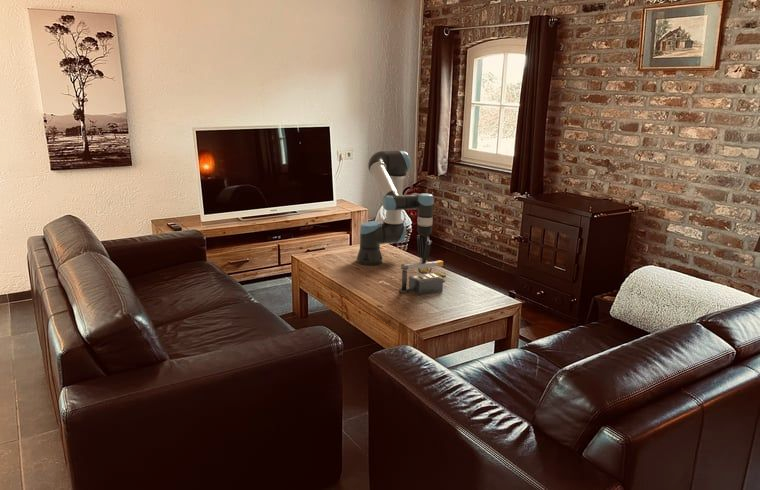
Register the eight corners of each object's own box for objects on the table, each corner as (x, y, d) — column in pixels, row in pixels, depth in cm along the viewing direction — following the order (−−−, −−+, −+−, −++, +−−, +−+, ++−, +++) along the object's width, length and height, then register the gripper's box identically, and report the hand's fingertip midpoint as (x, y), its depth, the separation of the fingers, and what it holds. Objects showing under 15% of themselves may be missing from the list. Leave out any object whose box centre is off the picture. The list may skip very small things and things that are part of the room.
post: (397, 290, 296) (397, 269, 293) (405, 289, 298) (406, 268, 295) (402, 293, 291) (402, 272, 288) (410, 292, 294) (411, 271, 291)
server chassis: (408, 289, 298) (409, 275, 296) (431, 285, 305) (432, 271, 302) (418, 295, 290) (419, 281, 288) (442, 291, 296) (443, 277, 294)
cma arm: (400, 268, 292) (400, 263, 292) (440, 264, 301) (440, 260, 300) (402, 270, 289) (403, 266, 288) (443, 266, 297) (443, 262, 297)
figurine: (445, 281, 310) (427, 260, 308) (431, 291, 312) (413, 270, 311) (446, 274, 321) (429, 253, 320) (433, 284, 324) (416, 263, 323)
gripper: (412, 222, 297) (410, 266, 303) (424, 228, 285) (421, 274, 292) (425, 221, 299) (423, 265, 306) (437, 227, 288) (435, 272, 295)
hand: (422, 269), depth 299 cm, fingers closed
